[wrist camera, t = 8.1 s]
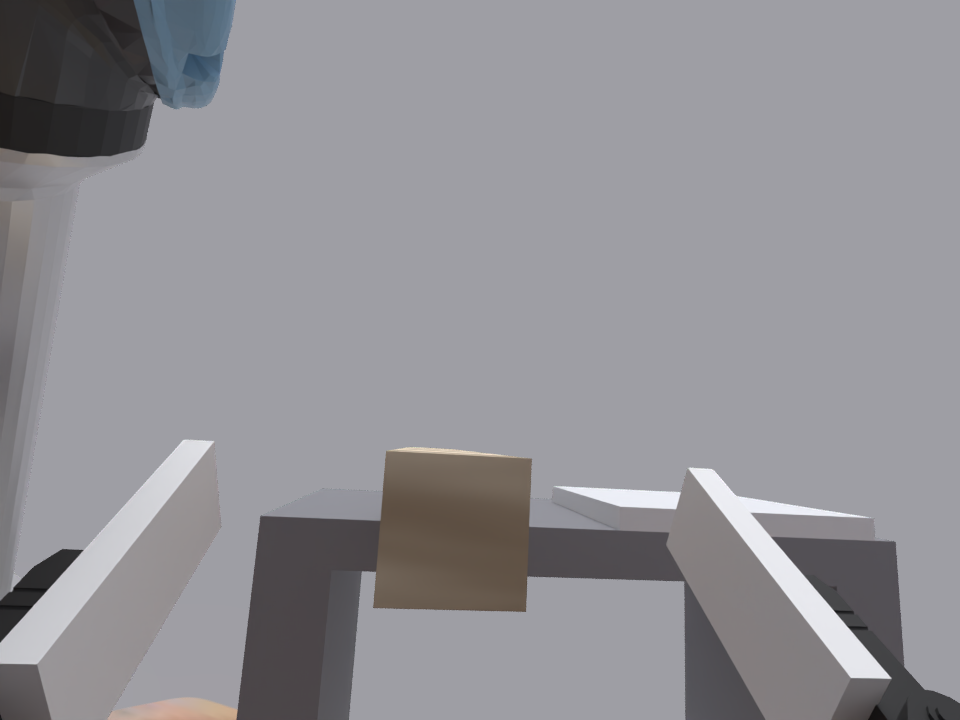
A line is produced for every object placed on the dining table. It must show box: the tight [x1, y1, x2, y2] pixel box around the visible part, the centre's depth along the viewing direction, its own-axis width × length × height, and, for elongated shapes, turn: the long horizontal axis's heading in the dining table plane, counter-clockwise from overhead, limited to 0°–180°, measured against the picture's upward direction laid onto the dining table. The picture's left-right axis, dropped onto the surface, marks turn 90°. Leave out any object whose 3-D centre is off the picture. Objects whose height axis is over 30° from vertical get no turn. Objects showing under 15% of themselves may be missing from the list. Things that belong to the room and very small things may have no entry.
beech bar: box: [373, 447, 532, 612], centre depth 24 cm, size 28×3×3 cm, turn 6°
